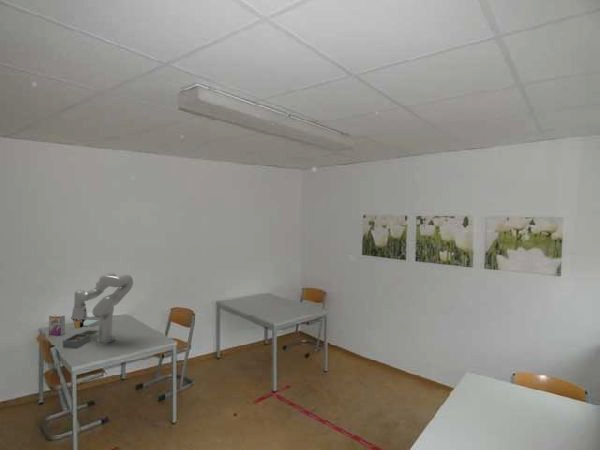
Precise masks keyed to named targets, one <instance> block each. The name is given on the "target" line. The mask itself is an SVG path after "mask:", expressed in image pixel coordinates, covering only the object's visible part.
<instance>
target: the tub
mask: <svg viewBox="0 0 600 450" xmlns="http://www.w3.org/2000/svg"><path fill="white" fill-rule="evenodd" d="M77 337H83V338H81V339H79V340H78V341H71V340H75V338H77ZM90 340H91V335H90V334H87V333H86V334H85V333H76V334H73V335H72V336H70V337H68V338H66V339H64V340H63V341H62V348H67V349H69V348H70V349H77V348H80V347H81V346H83V345H86V344H87V343H89V342H90Z"/></svg>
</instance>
